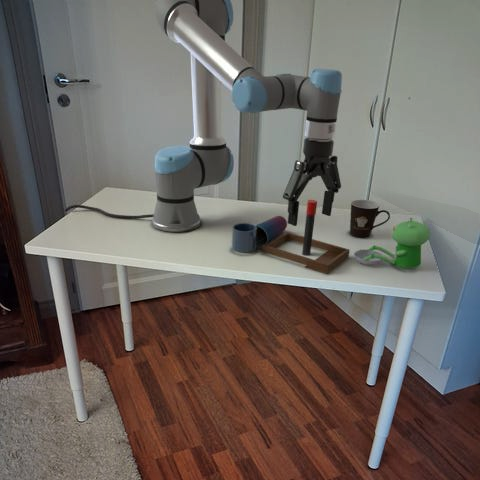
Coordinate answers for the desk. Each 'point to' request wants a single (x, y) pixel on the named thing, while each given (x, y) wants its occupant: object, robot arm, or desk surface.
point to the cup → (270, 229)
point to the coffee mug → (364, 217)
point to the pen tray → (321, 264)
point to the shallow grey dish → (365, 253)
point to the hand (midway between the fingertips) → (309, 219)
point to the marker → (309, 226)
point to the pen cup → (244, 237)
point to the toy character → (405, 244)
